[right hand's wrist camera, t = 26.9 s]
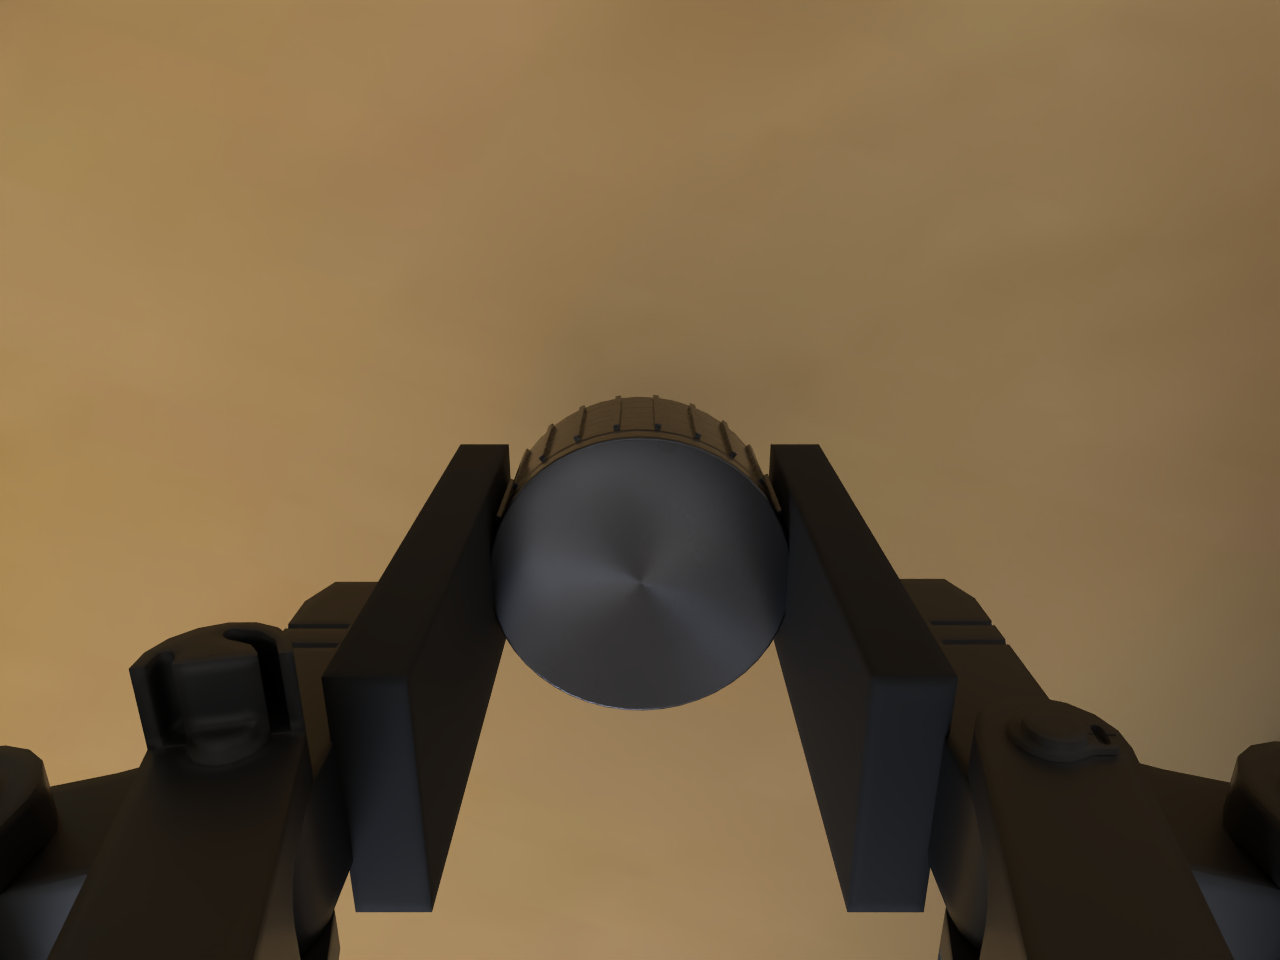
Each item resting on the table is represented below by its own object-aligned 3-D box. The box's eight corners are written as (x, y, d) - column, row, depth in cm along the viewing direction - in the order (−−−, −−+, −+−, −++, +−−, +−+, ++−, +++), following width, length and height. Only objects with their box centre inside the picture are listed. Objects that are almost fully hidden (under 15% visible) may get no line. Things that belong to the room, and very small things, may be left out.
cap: (831, 520, 14) (861, 578, 12) (643, 687, 15) (643, 764, 13) (635, 334, 13) (636, 366, 11) (448, 527, 14) (419, 586, 12)
